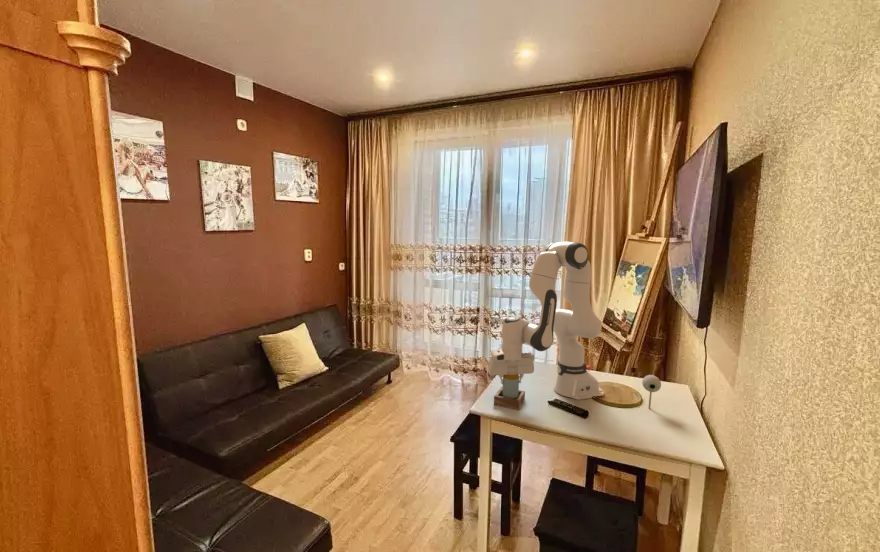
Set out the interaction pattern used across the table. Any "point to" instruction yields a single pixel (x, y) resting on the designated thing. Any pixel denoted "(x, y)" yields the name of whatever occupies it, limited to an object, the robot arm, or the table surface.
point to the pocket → (509, 400)
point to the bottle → (511, 383)
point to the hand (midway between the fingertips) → (510, 383)
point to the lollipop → (651, 385)
